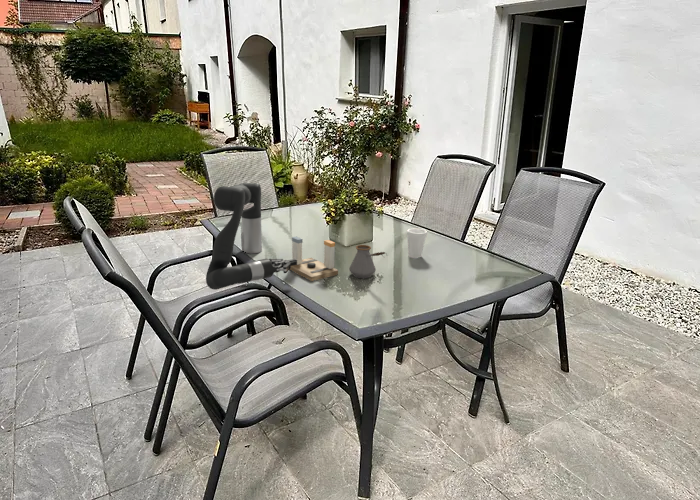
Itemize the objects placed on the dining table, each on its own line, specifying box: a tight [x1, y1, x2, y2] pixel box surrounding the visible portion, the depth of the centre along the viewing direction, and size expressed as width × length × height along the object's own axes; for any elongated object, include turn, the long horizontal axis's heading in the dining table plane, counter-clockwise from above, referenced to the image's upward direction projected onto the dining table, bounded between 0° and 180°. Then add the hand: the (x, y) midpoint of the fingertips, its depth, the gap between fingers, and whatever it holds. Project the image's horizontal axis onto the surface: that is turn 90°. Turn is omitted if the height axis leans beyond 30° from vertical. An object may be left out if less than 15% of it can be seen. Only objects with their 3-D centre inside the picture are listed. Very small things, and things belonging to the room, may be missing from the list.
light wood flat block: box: [289, 257, 339, 282], centre depth 204 cm, size 14×20×3 cm
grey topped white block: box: [291, 236, 304, 265], centre depth 204 cm, size 2×5×12 cm, turn 40°
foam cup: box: [406, 228, 428, 259], centre depth 227 cm, size 10×9×13 cm
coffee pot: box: [348, 244, 388, 279], centre depth 196 cm, size 21×12×15 cm, turn 32°
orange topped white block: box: [323, 239, 336, 269], centre depth 201 cm, size 2×5×12 cm, turn 40°
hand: (295, 261), depth 190 cm, fingers closed
